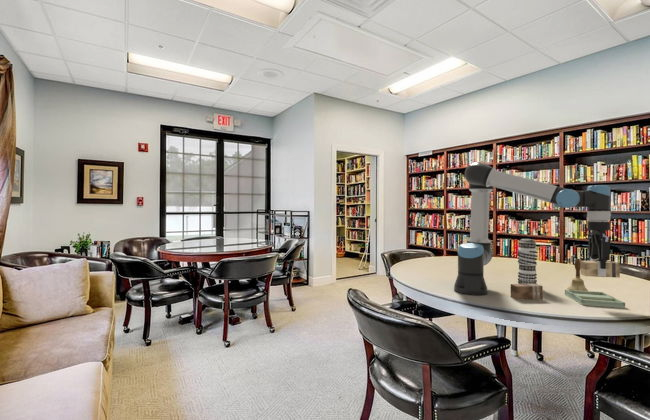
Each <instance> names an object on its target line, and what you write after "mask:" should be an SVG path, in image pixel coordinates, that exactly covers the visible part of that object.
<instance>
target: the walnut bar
mask: <svg viewBox="0 0 650 420" xmlns="http://www.w3.org/2000/svg"><path fill="white" fill-rule="evenodd" d="M543 294H544V293H543V285H540V284H538V283H537V284H519V283H510V298H512V297H513V298H512V299H514V298H515V300H517V299H518V300H519V299H520V300H519V301H522V300H521V299H524V300H543Z"/></svg>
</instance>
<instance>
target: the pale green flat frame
mask: <svg viewBox="0 0 650 420" xmlns="http://www.w3.org/2000/svg"><path fill="white" fill-rule="evenodd" d="M564 295H565V296H567V297H568V298H570V299H572V300H573V301H575V302H577V303H578V304H580V305H582V306H591V307H592V306H595V307H603V308H604V307H606V308H618V309H626V302H624V301H622V300H620V299H618V298H616V297H614V296H612V295H610V294H607V293H606V292H604V291H591V290H590V291H589V290H588V291H577V290H569V289H564Z"/></svg>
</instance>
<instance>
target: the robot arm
mask: <svg viewBox="0 0 650 420" xmlns="http://www.w3.org/2000/svg"><path fill="white" fill-rule="evenodd" d="M464 178H465V181H467V183H468V184H469V185H468V190H469V192H471V202H470V203H471V205H470V208H471V210H470V227H469V228H470V229H469V231H470V232H469V237H468V238H467V239H466V243H460V244H459V245H458V247H457V277H456V279H455V282H454V286H453V290H454V292H457V293H459V294H463V295H464V294H465V295H470V296H482V295H487V294H488V286H487V283H486V280H485V278H484V277H485V276H484V266H486V265H488V264H489V263H490V262H491V261H492V258H493V250H492V248H491V247H492V241H491V240H490V239H489V225H490V224H489V222H490V219H489V218H490V202H491V201H490V198H491V196H490V195H491V193H492V192H493V191H494V188H496V189H500V190H504V191H508V192H510V193H514V194H519V195H522V196H525V197H529V198H531V199H536V200H540V201H542V202H546V203H550V204H553V205H554V207H555V208H563V209H564V208H566V209H570V208H587V213H586V219H587V226H586V227H587V230H589V231H591V233H589V234H587V239H588V257H590V259H591V260H590V261H598V276H603V277H602V278H607V277H606V261H610V259H611V257H610V255H611V238H612V237H611V236H607V231H610V230H611V222H610V221H611V216H612V213H611V206H612V205H611V203H612V202H611V201H612V200H611V198H612V197H611V187H610V186H609V185H607V184H606V185H605V184H597V185H596V184H595V185H589V186H587V189H585V190H574V189H571V188H565V187H562V186H557V185H554V184H549V183H546V182H542V181H537V180H534V179H532V178H531V179H530V178H526V177H524V176H520V175H515V174H511V173H507V172H504V171H500V170H497V169H496V167H492V166H491V165H489V164H486V163H483V162H478V161H477V162H473V163H470V164H469V165H468V166H467V167H466V168H465V170H464Z"/></svg>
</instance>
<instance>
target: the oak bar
mask: <svg viewBox="0 0 650 420" xmlns="http://www.w3.org/2000/svg"><path fill="white" fill-rule="evenodd" d="M620 266H621V265H620V263H619V262H616V261H610V260H607V261H606V277H605V278H618V279H619V278H621V275H620V273H621V269H620V268H621V267H620ZM581 275H582V276H584V277H595V278H597V277H598V278H604V277H603V276H598V261H591V260H580V276H581Z"/></svg>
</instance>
